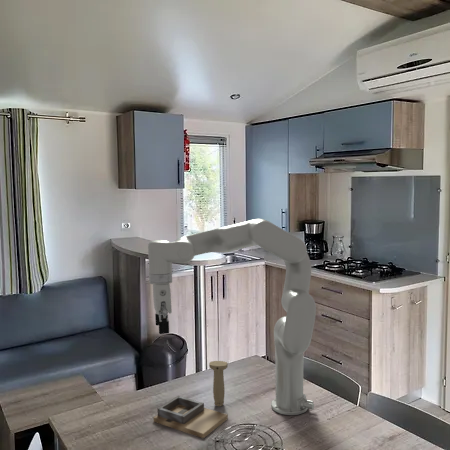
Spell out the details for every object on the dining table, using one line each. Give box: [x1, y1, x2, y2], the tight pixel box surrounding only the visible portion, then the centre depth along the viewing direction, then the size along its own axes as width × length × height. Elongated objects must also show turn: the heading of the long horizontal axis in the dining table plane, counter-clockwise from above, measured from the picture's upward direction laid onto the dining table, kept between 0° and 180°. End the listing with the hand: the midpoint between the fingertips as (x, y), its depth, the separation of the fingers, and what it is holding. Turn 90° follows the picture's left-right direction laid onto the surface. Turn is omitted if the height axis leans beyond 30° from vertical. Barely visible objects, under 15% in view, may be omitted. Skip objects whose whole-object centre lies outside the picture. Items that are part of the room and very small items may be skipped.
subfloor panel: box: [152, 395, 229, 439], centre depth 154 cm, size 20×14×4 cm
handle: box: [208, 360, 229, 407], centre depth 165 cm, size 5×6×15 cm
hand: (162, 329), depth 155 cm, fingers open, 9 cm apart
